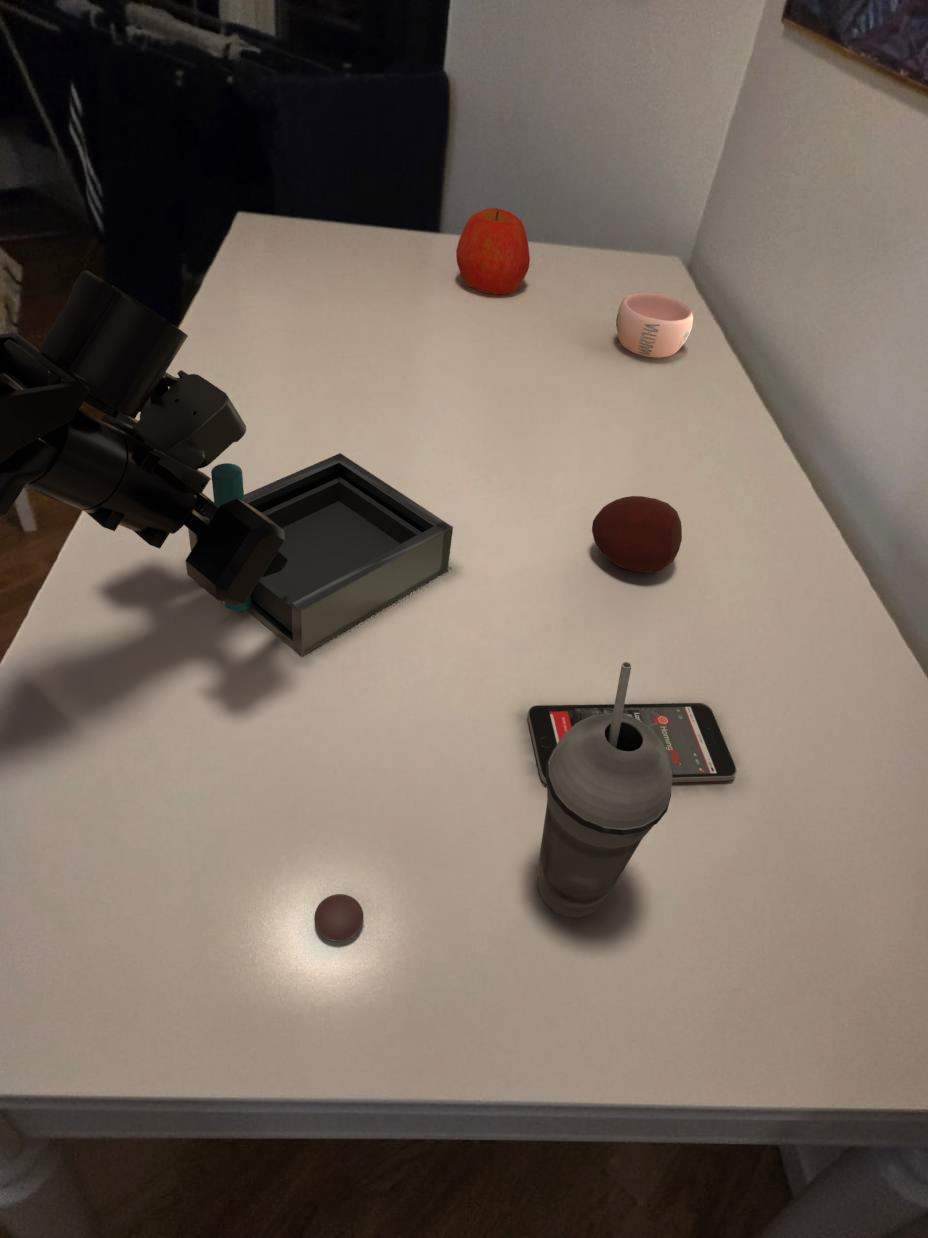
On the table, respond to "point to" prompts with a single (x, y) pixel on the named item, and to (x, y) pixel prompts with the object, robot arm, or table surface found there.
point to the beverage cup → (599, 805)
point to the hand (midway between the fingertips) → (247, 536)
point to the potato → (638, 533)
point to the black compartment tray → (316, 538)
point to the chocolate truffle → (338, 917)
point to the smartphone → (676, 724)
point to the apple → (493, 251)
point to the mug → (653, 324)
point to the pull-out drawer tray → (371, 581)
